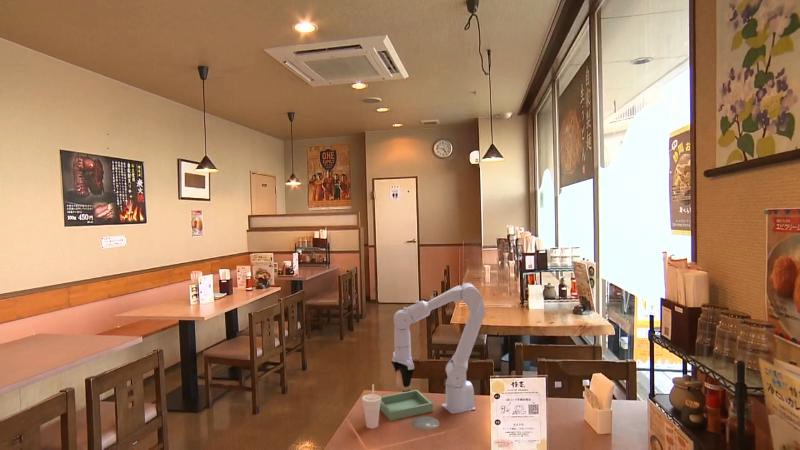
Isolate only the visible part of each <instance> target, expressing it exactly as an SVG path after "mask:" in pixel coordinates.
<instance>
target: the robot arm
mask: <svg viewBox="0 0 800 450" xmlns="http://www.w3.org/2000/svg"><path fill="white" fill-rule="evenodd" d="M483 297H484V296H482V293H480V291H479V289H478V288H476V287H475V286H474V285H473V284H472V283H471V282H464V283H462V284H461V285H460V284H459V285H456V286H454V287H452V288H450V289H448V290H446V291H444V292H443V293H441V294H439V295H437V296H436V297H434V298H432V299H430V300H428V301H426V300H416V301H415V303H413V304H412V305H409V306H408V307H406V306H405V307H403V309H399V310H397V311H396V312H395V313H394V315H393V317H392V318H393V324H394V327H393V329H394V330H393V331H394V332H393V336H394V339H393V342H394V344H393V345H394V351H393V352H392V358H391V364H392V366H393V368H394V372H395V373H396V371H397V370H400V372H401V375H402V381H403V386H404V387H408V386H410V387H411V382H412V378H413V374H414V372H415V370H416V366H415V363H414V362H413V358H412V345H411V343H412V341H411V331H410V326H411V324H414V323H416V322H419V321H420V320H422V319H424V318H426V317H427V318H428V317H429V316H430V314H431V312H432V310H435V309H437V308H440V307H442V306H445V305H447V304H448V303H451V302H454V303H460V304H462V302H463V303H464V304H465V305H466V307H467V309H468V310H469V314H468V318H467V320H466V322H465V325H464V328H463V331H462V334H461V337H460V339H459V341H458V345H457V347H456V350H455V352H454V354H453V355H452V356H451V359H450V360H449V361H448V362H447V363H446V364H445V373H446V376H447V378H446V380H445V403H442V404H441V407H443V408H444V409H446V410H447V411H448V412H449V413H450V414H453V415H454V414H457V413H462V412H466V411H475V410H476V407H475V390H474V386H473V384H472V382H471V381H470V380H467V371H468V365H469V359H470V357H471V354H472V351H473V348H474V346H475V344H476V343H475V342H476V340H477V338H478V335H479V331H480V328H481V327H482V324H483V322H484V319H485V316H486V310H485V304H484V298H483Z"/></svg>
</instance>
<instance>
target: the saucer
mask: <svg viewBox="0 0 800 450" xmlns="http://www.w3.org/2000/svg"><path fill="white" fill-rule="evenodd" d="M411 426H413V428H414V429H417V430H421V431H430V430H434V429H437V428H438V427H439V426H440V421H439V420H438V419H437V418H435V417H432V416H419V417H416V418H414V419H412V421H411Z"/></svg>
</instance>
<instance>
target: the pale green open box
mask: <svg viewBox="0 0 800 450" xmlns="http://www.w3.org/2000/svg"><path fill="white" fill-rule="evenodd" d="M380 411H381V412H382V413H383V415H384V416H385V417H386V419H388V421H389V422H392V421H395V420H396V421H397V420H400V419H405V418H409V417H413V416H418V415H424V414H428V413H432V412H434V404H433V402H432V401H431V400H430V399H428V397H426V396H425V395H424V394H423V393H421V392H420V391H419V390H418V389H414V390H413V389H412V390H407V391H402V392H398V393H394V394H393V393H392V394H388V395H384V396H381V402H380Z"/></svg>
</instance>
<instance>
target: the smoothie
mask: <svg viewBox="0 0 800 450" xmlns="http://www.w3.org/2000/svg"><path fill="white" fill-rule="evenodd" d="M371 388H372V389H371V392H372V393H368V394H365V395H363V396H362V397H361V402H362V406H363V412H364V418H365V419H364V420H365V426H366V428H367V429H376V428H378V427H379V420H380V411H381V410H380V402H381V397H382V396H381V395H380V394H377V393H375V384H374V383H373V384H372V385H371Z"/></svg>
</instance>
